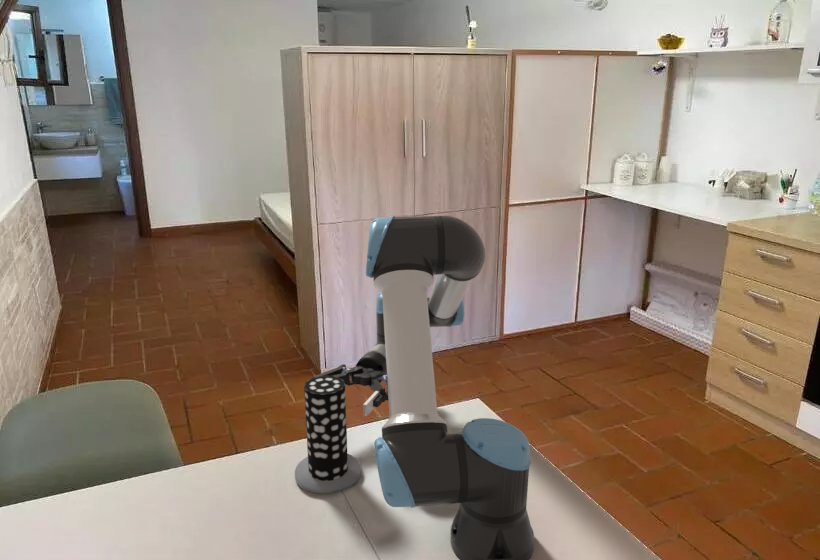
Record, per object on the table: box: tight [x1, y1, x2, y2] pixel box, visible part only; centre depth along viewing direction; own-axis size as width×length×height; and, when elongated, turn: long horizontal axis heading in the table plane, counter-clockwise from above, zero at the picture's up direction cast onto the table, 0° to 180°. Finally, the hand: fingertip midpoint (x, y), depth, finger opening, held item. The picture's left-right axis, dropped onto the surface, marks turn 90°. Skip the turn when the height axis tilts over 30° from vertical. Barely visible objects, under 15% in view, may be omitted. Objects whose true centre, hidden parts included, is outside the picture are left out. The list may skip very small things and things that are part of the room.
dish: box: [294, 453, 362, 494], centre depth 135 cm, size 14×14×2 cm
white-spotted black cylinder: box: [303, 376, 348, 481], centre depth 132 cm, size 8×8×20 cm
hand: (336, 404), depth 136 cm, fingers open, 13 cm apart
